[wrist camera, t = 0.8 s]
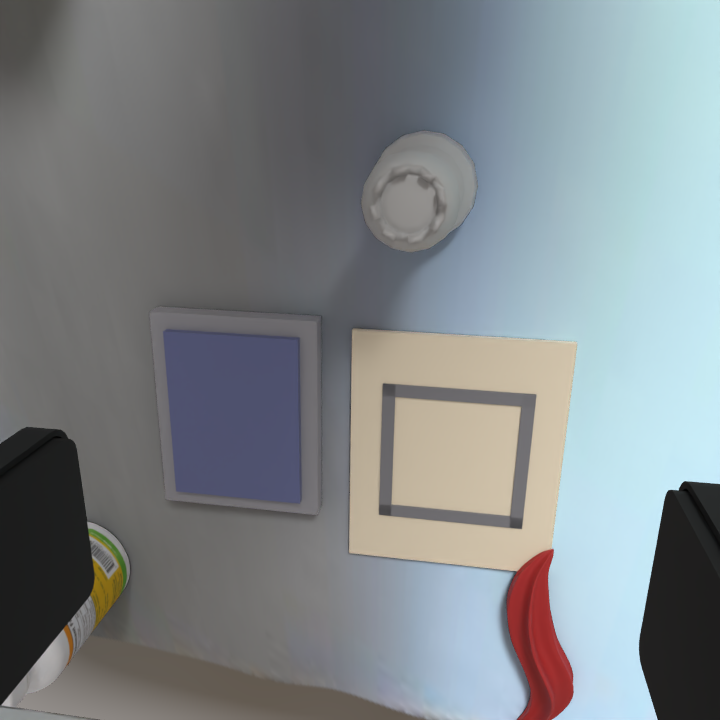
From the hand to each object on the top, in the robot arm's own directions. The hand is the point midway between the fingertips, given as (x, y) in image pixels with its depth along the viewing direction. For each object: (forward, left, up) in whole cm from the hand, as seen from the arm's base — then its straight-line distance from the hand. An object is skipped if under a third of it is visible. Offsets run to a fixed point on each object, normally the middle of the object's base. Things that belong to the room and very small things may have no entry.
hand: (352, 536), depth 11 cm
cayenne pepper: (+19, +6, -21) cm, 29 cm away
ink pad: (+7, -9, -21) cm, 24 cm away
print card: (+9, +1, -21) cm, 22 cm away
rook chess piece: (-4, -1, -21) cm, 21 cm away
